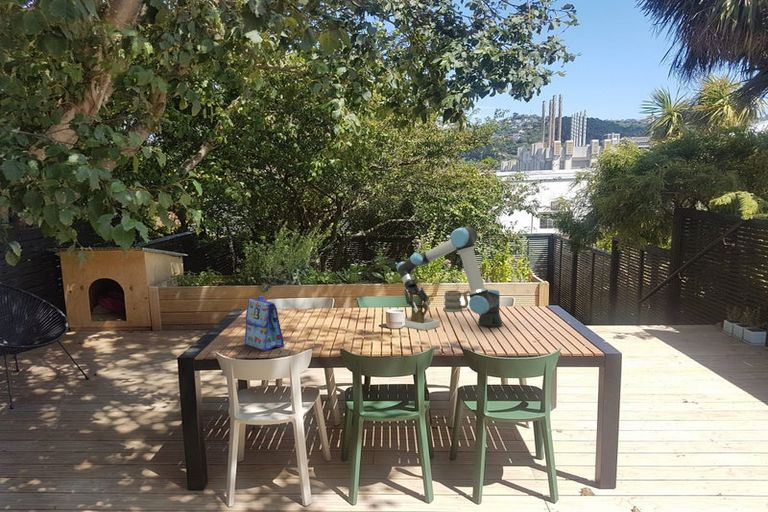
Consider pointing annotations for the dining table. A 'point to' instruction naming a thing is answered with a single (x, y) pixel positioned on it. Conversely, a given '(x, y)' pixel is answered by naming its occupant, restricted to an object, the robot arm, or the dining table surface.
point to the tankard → (455, 301)
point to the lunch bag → (262, 325)
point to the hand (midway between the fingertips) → (422, 310)
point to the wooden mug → (419, 312)
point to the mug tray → (424, 326)
